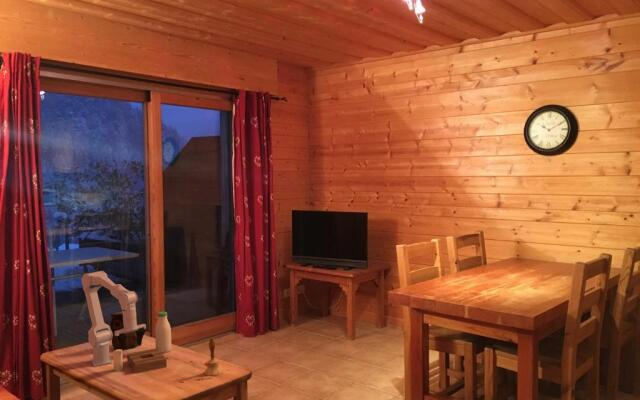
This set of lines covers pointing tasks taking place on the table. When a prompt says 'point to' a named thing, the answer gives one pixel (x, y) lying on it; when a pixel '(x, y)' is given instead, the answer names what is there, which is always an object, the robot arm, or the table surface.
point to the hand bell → (212, 362)
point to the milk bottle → (163, 333)
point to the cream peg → (117, 360)
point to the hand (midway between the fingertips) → (131, 347)
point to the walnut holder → (146, 360)
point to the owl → (130, 337)
